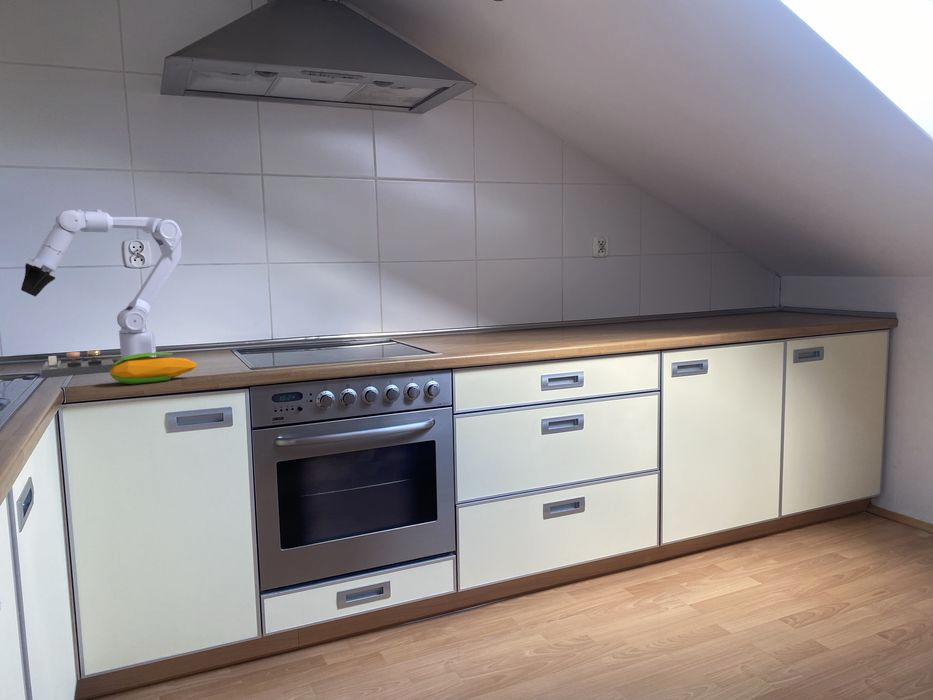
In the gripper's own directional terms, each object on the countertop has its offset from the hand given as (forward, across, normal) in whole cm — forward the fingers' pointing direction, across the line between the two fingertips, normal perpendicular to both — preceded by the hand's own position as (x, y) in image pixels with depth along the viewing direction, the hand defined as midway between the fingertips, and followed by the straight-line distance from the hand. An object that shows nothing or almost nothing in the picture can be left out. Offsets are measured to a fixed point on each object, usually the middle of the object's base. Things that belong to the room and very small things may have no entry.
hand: (28, 293), depth 189 cm
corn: (+8, +29, +40) cm, 50 cm away
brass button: (+9, +3, +22) cm, 24 cm away
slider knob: (+15, +2, +14) cm, 21 cm away
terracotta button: (+12, +3, +18) cm, 22 cm away
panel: (+14, +3, +21) cm, 25 cm away
